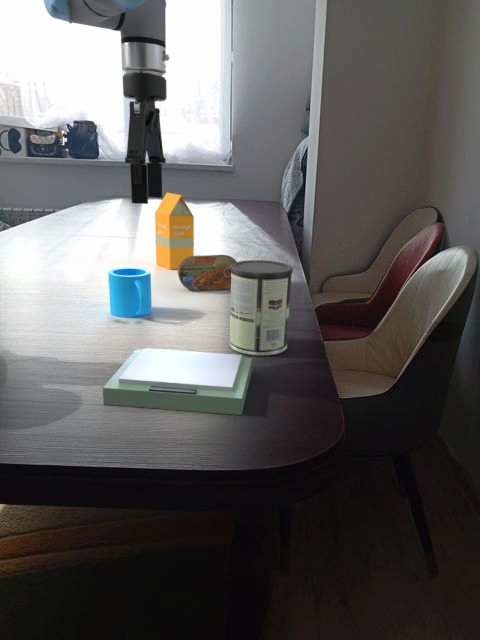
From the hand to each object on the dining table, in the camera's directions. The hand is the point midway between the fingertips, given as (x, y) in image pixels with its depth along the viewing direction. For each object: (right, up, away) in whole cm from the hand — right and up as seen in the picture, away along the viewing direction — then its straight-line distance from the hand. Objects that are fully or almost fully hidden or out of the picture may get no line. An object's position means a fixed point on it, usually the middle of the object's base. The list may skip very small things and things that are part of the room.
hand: (148, 200), depth 98 cm
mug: (-4, -21, +6) cm, 22 cm away
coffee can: (+21, -28, -8) cm, 36 cm away
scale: (+11, -34, -25) cm, 43 cm away
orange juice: (-4, -4, +51) cm, 51 cm away
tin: (+9, -14, +28) cm, 32 cm away
